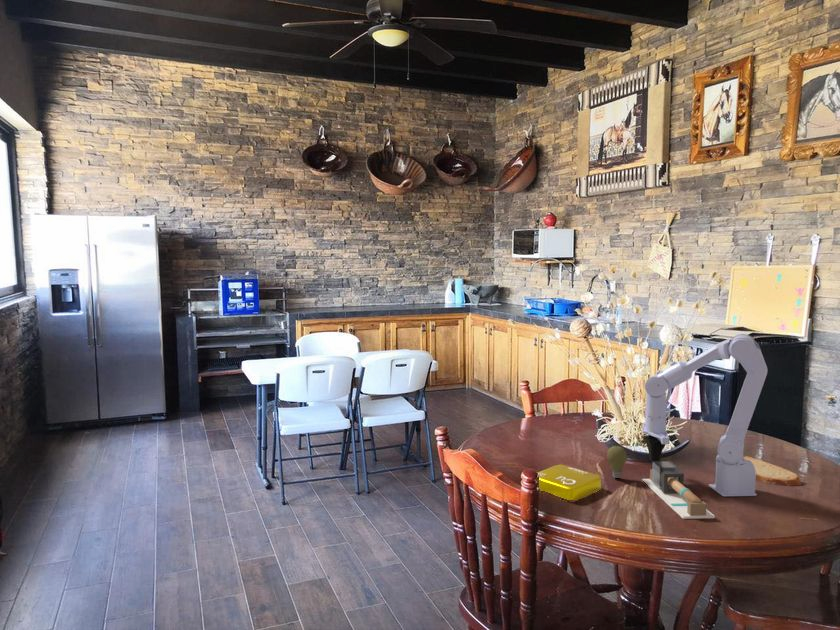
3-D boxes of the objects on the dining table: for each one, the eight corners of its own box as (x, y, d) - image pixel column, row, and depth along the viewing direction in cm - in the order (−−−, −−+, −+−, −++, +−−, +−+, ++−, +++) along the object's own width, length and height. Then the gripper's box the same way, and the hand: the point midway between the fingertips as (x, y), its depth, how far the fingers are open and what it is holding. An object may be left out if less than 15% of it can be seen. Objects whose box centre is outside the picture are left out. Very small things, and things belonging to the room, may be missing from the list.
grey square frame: (661, 491, 163) (662, 472, 162) (681, 490, 163) (681, 471, 162) (663, 493, 161) (664, 474, 161) (683, 492, 161) (683, 473, 161)
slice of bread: (805, 488, 167) (806, 475, 167) (737, 484, 171) (737, 471, 171) (780, 466, 185) (781, 455, 184) (719, 463, 188) (719, 452, 188)
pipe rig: (642, 480, 173) (642, 464, 173) (669, 480, 173) (669, 464, 173) (683, 518, 147) (683, 499, 147) (714, 518, 147) (715, 499, 147)
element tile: (603, 490, 167) (603, 474, 167) (573, 505, 157) (573, 488, 157) (559, 476, 178) (559, 461, 178) (528, 489, 169) (528, 473, 168)
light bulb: (602, 476, 177) (603, 444, 176) (617, 474, 179) (618, 442, 178) (615, 483, 171) (615, 449, 171) (630, 480, 173) (631, 447, 173)
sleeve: (652, 481, 170) (652, 461, 169) (669, 481, 170) (670, 461, 169) (659, 488, 165) (659, 467, 164) (677, 488, 165) (678, 467, 164)
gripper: (633, 409, 180) (632, 453, 181) (652, 422, 165) (651, 469, 167) (655, 409, 180) (654, 452, 181) (677, 422, 166) (675, 469, 167)
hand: (654, 460), depth 174 cm, fingers closed
